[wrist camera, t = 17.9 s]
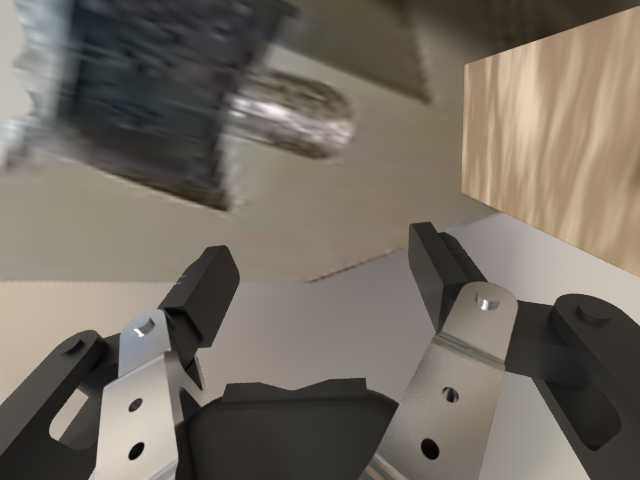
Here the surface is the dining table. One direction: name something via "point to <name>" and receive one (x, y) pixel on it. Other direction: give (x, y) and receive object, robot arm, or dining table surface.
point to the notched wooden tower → (562, 136)
